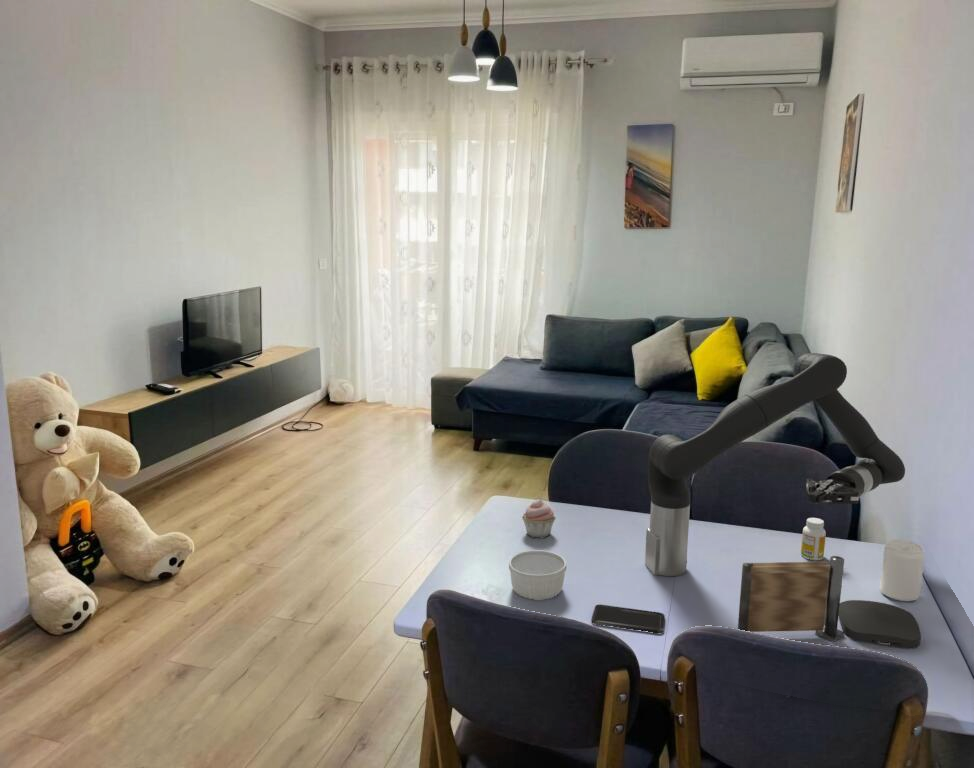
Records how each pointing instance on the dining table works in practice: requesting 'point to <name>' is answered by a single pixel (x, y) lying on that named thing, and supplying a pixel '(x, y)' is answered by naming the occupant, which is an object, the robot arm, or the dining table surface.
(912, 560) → the beverage can
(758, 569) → the wooden gate
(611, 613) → the phone
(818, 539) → the supplement bottle
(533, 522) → the cupcake
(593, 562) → the dining table surface
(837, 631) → the gate post
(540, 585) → the ramekin
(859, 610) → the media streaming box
